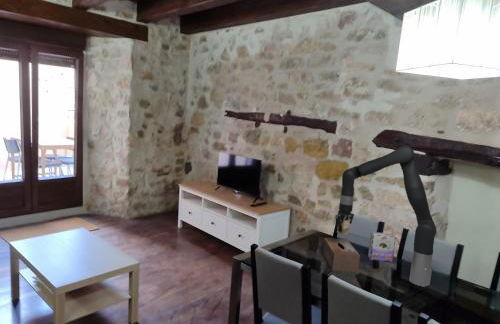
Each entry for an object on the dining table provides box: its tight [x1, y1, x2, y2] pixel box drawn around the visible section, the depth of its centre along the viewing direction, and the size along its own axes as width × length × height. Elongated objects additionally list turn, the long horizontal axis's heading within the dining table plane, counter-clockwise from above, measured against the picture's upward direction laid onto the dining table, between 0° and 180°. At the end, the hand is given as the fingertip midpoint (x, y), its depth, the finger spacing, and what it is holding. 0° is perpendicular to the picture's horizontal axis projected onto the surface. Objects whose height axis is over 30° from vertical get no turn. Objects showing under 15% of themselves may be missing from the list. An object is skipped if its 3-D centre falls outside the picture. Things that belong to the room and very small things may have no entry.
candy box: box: [367, 231, 397, 263], centre depth 218 cm, size 14×6×16 cm, turn 84°
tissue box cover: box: [322, 237, 361, 273], centre depth 209 cm, size 26×14×10 cm, turn 1°
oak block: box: [336, 220, 350, 236], centre depth 207 cm, size 4×4×8 cm
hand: (342, 231), depth 208 cm, fingers closed on oak block, 4 cm apart
